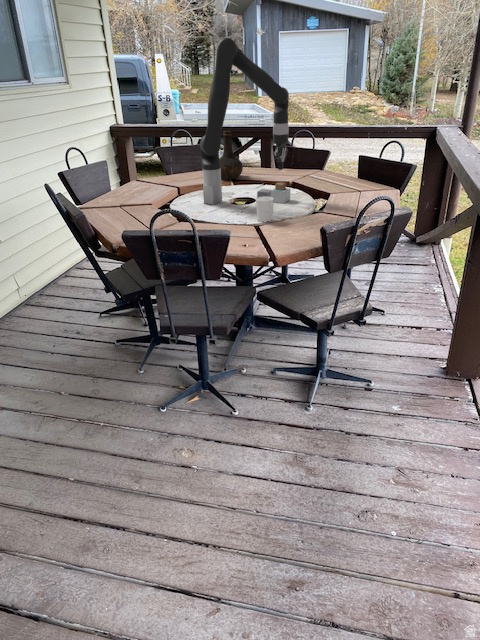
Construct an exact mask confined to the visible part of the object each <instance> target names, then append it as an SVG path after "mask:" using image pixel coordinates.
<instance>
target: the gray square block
mask: <svg viewBox="0 0 480 640" xmlns="http://www.w3.org/2000/svg"><path fill="white" fill-rule="evenodd" d="M271 190H272V189H270V188H269V189H267V188H262V189H259V190H258V191H256V198H258V197H263V196H267V197H271Z"/></svg>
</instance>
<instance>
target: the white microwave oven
mask: <svg viewBox="0 0 480 640" xmlns="http://www.w3.org/2000/svg"><path fill="white" fill-rule="evenodd" d="M270 190H271V197H272V198H273V203H275V202H278V203H277V204H286V203H288V202H289V201H291V188H289V187H286V190H284V191H282V190H275V187H273V188H272V189H270ZM288 200H289V201H288ZM287 201H288V202H287ZM285 202H286V203H285Z"/></svg>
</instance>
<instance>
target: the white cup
mask: <svg viewBox="0 0 480 640" xmlns="http://www.w3.org/2000/svg"><path fill="white" fill-rule="evenodd" d="M255 205H256V217H257V219H256V220H257V221H258V220H259V221H270V222H272V221H273V214H274V202H273V198H272V197H267V196H263V197H258V198H257V197H256V198H255ZM271 220H272V221H271ZM259 221H258V222H259Z"/></svg>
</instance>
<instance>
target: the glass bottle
mask: <svg viewBox="0 0 480 640" xmlns="http://www.w3.org/2000/svg"><path fill="white" fill-rule="evenodd" d="M221 136H223V149H222V150H223V151H222V152H223V153H222V156H221V157H219V160H220V166H221V180H225V181H226V180H227V181H229V180H230V181H232V180H235V179H238V178H239V177H240V176H241V175H242V173H243V169H244V167H243V163H242V161H241V160H240V159H238V158H237V157H236V156H235V155H234V151H233V144H232V137H231V136H233V134H232V132H231V130H222V134H221Z"/></svg>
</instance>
